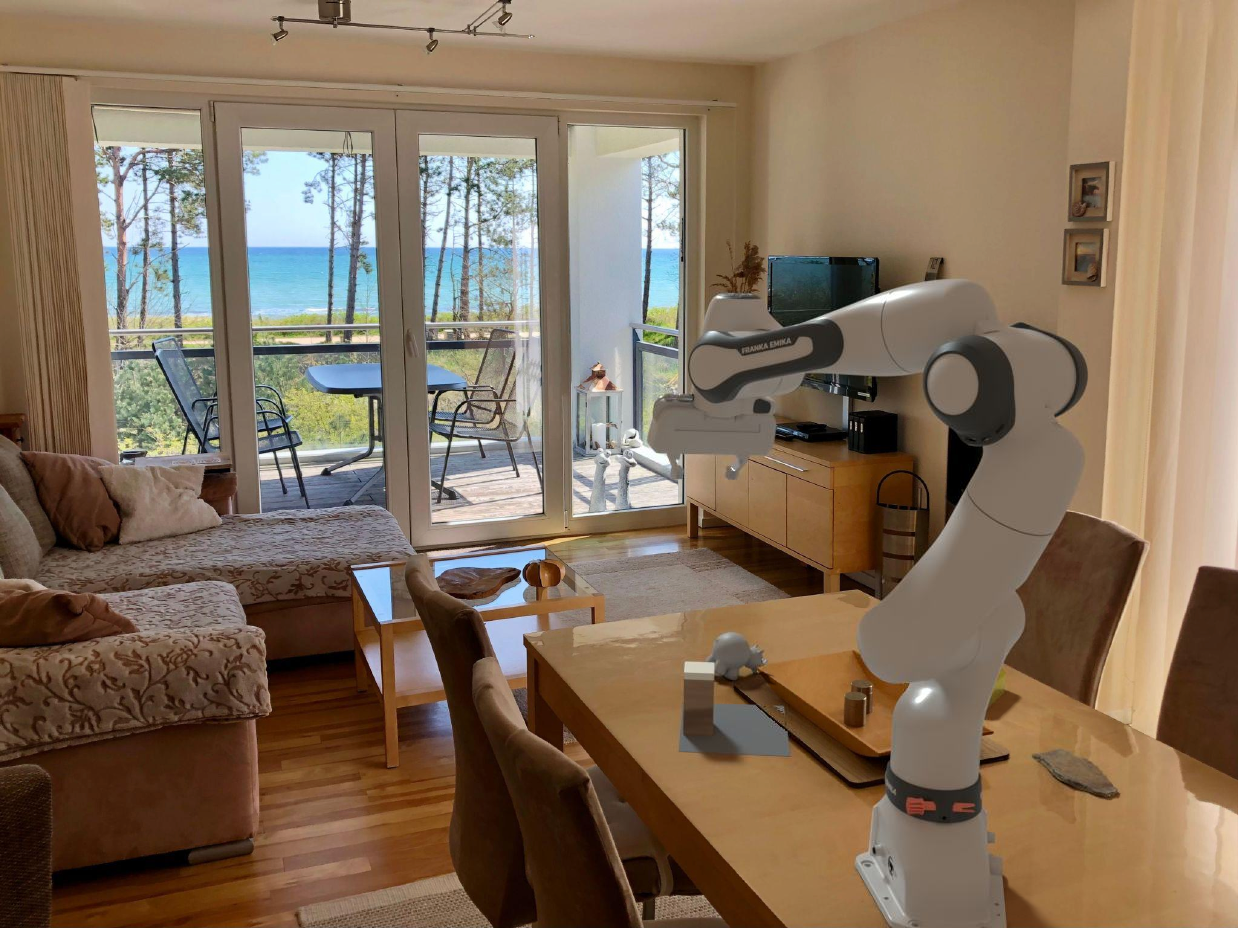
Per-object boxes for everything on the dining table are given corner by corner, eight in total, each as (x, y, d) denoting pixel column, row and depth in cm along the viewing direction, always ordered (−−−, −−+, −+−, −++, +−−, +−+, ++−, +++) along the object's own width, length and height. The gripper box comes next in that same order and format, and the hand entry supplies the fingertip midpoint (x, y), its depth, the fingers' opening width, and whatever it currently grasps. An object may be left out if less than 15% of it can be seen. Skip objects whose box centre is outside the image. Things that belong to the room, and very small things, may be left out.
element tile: (979, 717, 194) (981, 691, 193) (899, 696, 203) (900, 672, 202) (1007, 691, 206) (1009, 667, 205) (930, 672, 215) (932, 649, 214)
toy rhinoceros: (765, 693, 210) (782, 652, 209) (711, 676, 206) (729, 635, 205) (750, 678, 217) (767, 639, 216) (698, 662, 213) (715, 622, 212)
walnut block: (712, 735, 184) (714, 673, 182) (683, 734, 184) (684, 672, 182) (713, 723, 189) (714, 662, 187) (684, 721, 189) (684, 661, 187)
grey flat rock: (1067, 753, 180) (1068, 743, 180) (1128, 798, 165) (1129, 787, 165) (1023, 757, 179) (1024, 747, 178) (1081, 803, 164) (1082, 792, 163)
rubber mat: (790, 759, 177) (790, 756, 177) (678, 754, 178) (678, 751, 178) (783, 708, 196) (783, 706, 196) (682, 704, 198) (682, 702, 198)
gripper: (663, 400, 162) (648, 485, 167) (786, 404, 169) (769, 487, 174) (649, 386, 167) (635, 469, 172) (769, 391, 174) (753, 471, 179)
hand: (703, 478), depth 173 cm, fingers open, 8 cm apart
